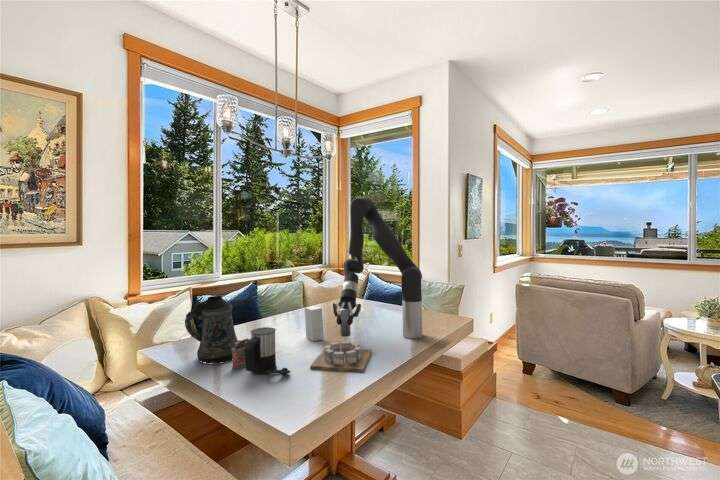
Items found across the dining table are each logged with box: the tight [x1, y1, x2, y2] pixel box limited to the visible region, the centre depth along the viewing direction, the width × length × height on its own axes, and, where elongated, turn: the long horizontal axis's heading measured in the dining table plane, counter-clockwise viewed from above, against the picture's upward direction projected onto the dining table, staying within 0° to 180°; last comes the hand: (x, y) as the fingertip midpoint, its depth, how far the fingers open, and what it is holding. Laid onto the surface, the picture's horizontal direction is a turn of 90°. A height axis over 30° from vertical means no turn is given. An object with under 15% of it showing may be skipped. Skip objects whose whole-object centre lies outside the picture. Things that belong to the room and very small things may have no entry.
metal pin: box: [339, 308, 352, 338], centre depth 156 cm, size 5×5×12 cm
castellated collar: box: [309, 341, 373, 373], centre depth 134 cm, size 20×20×5 cm
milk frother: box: [245, 326, 291, 376], centre depth 124 cm, size 14×16×15 cm
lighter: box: [231, 337, 249, 371], centre depth 130 cm, size 8×3×10 cm, turn 148°
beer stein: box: [184, 295, 238, 364], centre depth 139 cm, size 16×19×25 cm
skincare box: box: [304, 305, 325, 342], centre depth 163 cm, size 8×6×15 cm
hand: (344, 323), depth 154 cm, fingers closed on metal pin, 4 cm apart
